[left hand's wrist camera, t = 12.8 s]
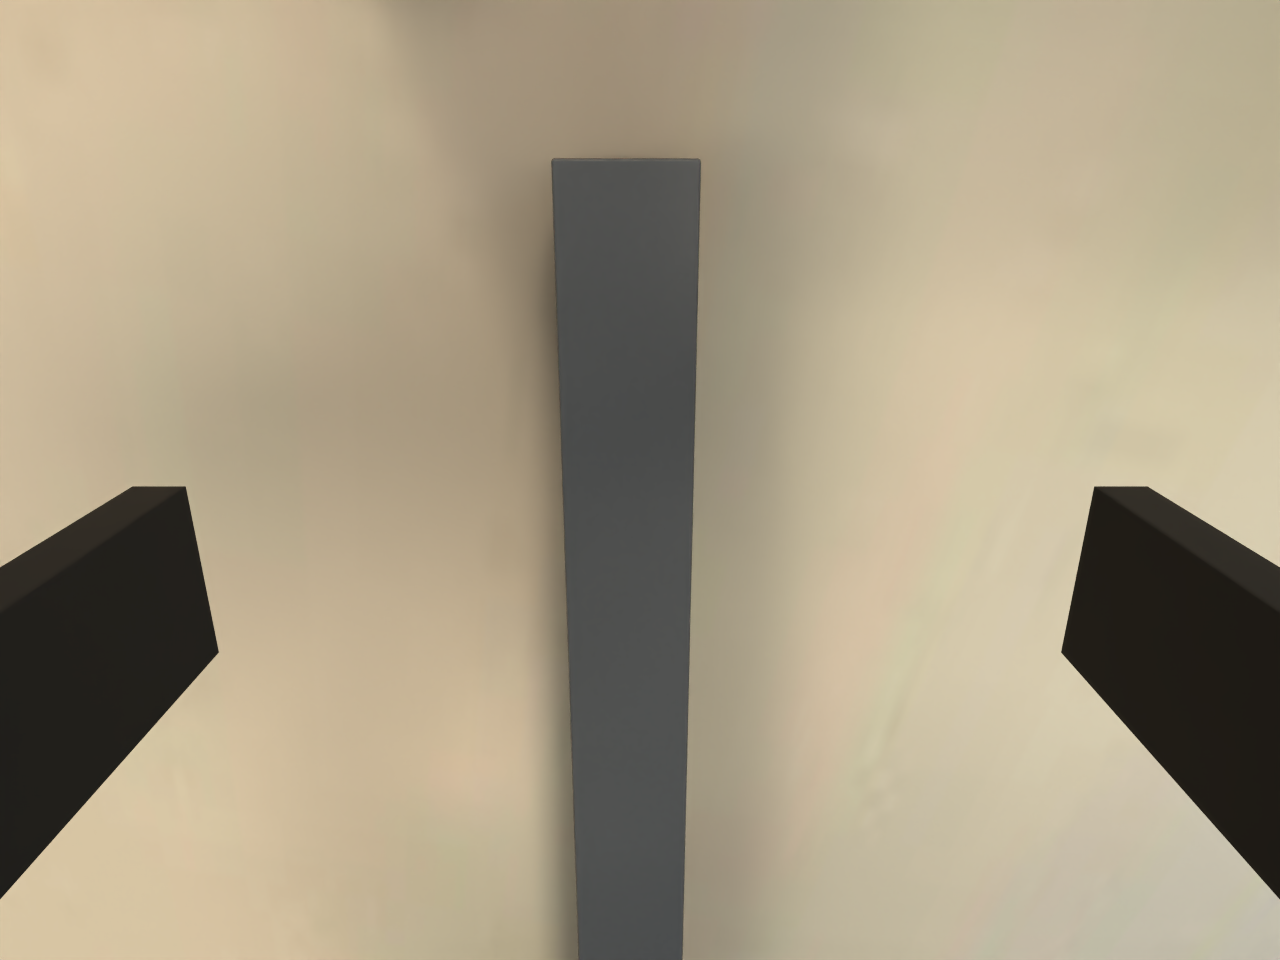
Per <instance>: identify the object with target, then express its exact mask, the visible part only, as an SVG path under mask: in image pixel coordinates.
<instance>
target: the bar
mask: <svg viewBox="0 0 1280 960" xmlns="http://www.w3.org/2000/svg"><path fill="white" fill-rule="evenodd" d="M551 164H552V194H553V223H554V252H555V282H556V311H557V340H558V369H559V399H560V428H561V457H562V487H563V516H564V545H565V575H566V604H567V633H568V662H569V692H570V721H571V750H572V780H573V809H574V838H575V868H576V897H577V926H578V955H579V960H682V954H683V911H684V868H685V825H686V782H687V739H688V696H689V653H690V610H691V567H692V525H693V482H694V439H695V396H696V353H697V310H698V267H699V224H700V181H701V160H700V159H552V161H551Z"/></svg>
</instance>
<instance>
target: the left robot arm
mask: <svg viewBox="0 0 1280 960" xmlns="http://www.w3.org/2000/svg"><path fill="white" fill-rule="evenodd" d="M218 653H219V651H218V646H217V641H216V636H215V631H214V626H213V621H212V616H211V611H210V606H209V601H208V596H207V591H206V586H205V581H204V576H203V571H202V566H201V561H200V556H199V551H198V546H197V541H196V536H195V531H194V526H193V521H192V516H191V511H190V506H189V501H188V496H187V491H186V487H131V488H129V489H128V490H126V491H125V492H123V493H121V494H120V495H118V496H116V497H115V498H113V499H111V500H110V501H108V502H107V503H105V504H103V505H102V506H100V507H98V508H97V509H95V510H93V511H92V512H90V513H89V514H87V515H85V516H84V517H82V518H80V519H79V520H77V521H75V522H74V523H72V524H71V525H69V526H67V527H66V528H64V529H62V530H61V531H59V532H57V533H56V534H54V535H53V536H51V537H49V538H48V539H46V540H44V541H43V542H41V543H39V544H38V545H36V546H35V547H33V548H31V549H30V550H28V551H26V552H25V553H23V554H21V555H20V556H18V557H17V558H15V559H13V560H12V561H10V562H8V563H7V564H5V565H3V566H2V567H0V899H1V898H2V897H3V895H4V894H5V893H6V892H7V891H8V890H9V889H10V888H11V886H12V885H13V884H14V883H15V882H16V881H17V880H18V879H19V877H20V876H21V875H22V874H23V873H24V872H25V871H26V870H27V868H28V867H29V866H30V865H31V864H32V863H33V862H34V860H35V859H36V858H37V857H38V856H39V855H40V854H41V853H42V851H43V850H44V849H45V848H46V847H47V846H48V845H49V844H50V842H51V841H52V840H53V839H54V838H55V837H56V836H57V834H58V833H59V832H60V831H61V830H62V829H63V828H64V827H65V825H66V824H67V823H68V822H69V821H70V820H71V819H72V818H73V816H74V815H75V814H76V813H77V812H78V811H79V810H80V809H81V807H82V806H83V805H84V804H85V803H86V802H87V801H88V799H89V798H90V797H91V796H92V795H93V794H94V793H95V792H96V790H97V789H98V788H99V787H100V786H101V785H102V784H103V783H104V781H105V780H106V779H107V778H108V777H109V776H110V775H111V774H112V772H113V771H114V770H115V769H116V768H117V767H118V766H119V764H120V763H121V762H122V761H123V760H124V759H125V758H126V757H127V755H128V754H129V753H130V752H131V751H132V750H133V749H134V748H135V746H136V745H137V744H138V743H139V742H140V741H141V740H142V738H143V737H144V736H145V735H146V734H147V733H148V732H149V731H150V729H151V728H152V727H153V726H154V725H155V724H156V723H157V722H158V720H159V719H160V718H161V717H162V716H163V715H164V714H165V713H166V711H167V710H168V709H169V708H170V707H171V706H172V705H173V703H174V702H175V701H176V700H177V699H178V698H179V697H180V696H181V694H182V693H183V692H184V691H185V690H186V689H187V688H188V687H189V685H190V684H191V683H192V682H193V681H194V680H195V679H196V677H197V676H198V675H199V674H200V673H201V672H202V671H203V670H204V668H205V667H206V666H207V665H208V664H209V663H210V662H211V661H212V659H213V658H214V657H215V656H216V655H217V654H218ZM1061 653H1062V654H1063V655H1064V656H1065V657H1066V658H1067V659H1068V661H1069V662H1070V663H1071V664H1072V665H1073V666H1074V667H1075V668H1076V670H1077V671H1078V672H1079V673H1080V674H1081V675H1082V676H1083V677H1084V679H1085V680H1086V681H1087V682H1088V683H1089V684H1090V685H1091V687H1092V688H1093V689H1094V690H1095V691H1096V692H1097V693H1098V694H1099V696H1100V697H1101V698H1102V699H1103V700H1104V701H1105V702H1106V703H1107V705H1108V706H1109V707H1110V708H1111V709H1112V710H1113V711H1114V713H1115V714H1116V715H1117V716H1118V717H1119V718H1120V719H1121V720H1122V722H1123V723H1124V724H1125V725H1126V726H1127V727H1128V728H1129V729H1130V731H1131V732H1132V733H1133V734H1134V735H1135V736H1136V737H1137V738H1138V740H1139V741H1140V742H1141V743H1142V744H1143V745H1144V746H1145V748H1146V749H1147V750H1148V751H1149V752H1150V753H1151V754H1152V755H1153V757H1154V758H1155V759H1156V760H1157V761H1158V762H1159V763H1160V764H1161V766H1162V767H1163V768H1164V769H1165V770H1166V771H1167V772H1168V774H1169V775H1170V776H1171V777H1172V778H1173V779H1174V780H1175V781H1176V783H1177V784H1178V785H1179V786H1180V787H1181V788H1182V789H1183V790H1184V792H1185V793H1186V794H1187V795H1188V796H1189V797H1190V798H1191V799H1192V801H1193V802H1194V803H1195V804H1196V805H1197V806H1198V807H1199V809H1200V810H1201V811H1202V812H1203V813H1204V814H1205V815H1206V816H1207V818H1208V819H1209V820H1210V821H1211V822H1212V823H1213V824H1214V825H1215V827H1216V828H1217V829H1218V830H1219V831H1220V832H1221V833H1222V834H1223V836H1224V837H1225V838H1226V839H1227V840H1228V841H1229V842H1230V844H1231V845H1232V846H1233V847H1234V848H1235V849H1236V850H1237V851H1238V853H1239V854H1240V855H1241V856H1242V857H1243V858H1244V859H1245V860H1246V862H1247V863H1248V864H1249V865H1250V866H1251V867H1252V868H1253V870H1254V871H1255V872H1256V873H1257V874H1258V875H1259V876H1260V877H1261V879H1262V880H1263V881H1264V882H1265V883H1266V884H1267V885H1268V886H1269V888H1270V889H1271V890H1272V891H1273V892H1274V893H1275V894H1276V895H1277V897H1278V898H1279V899H1280V567H1278V566H1277V565H1275V564H1273V563H1272V562H1270V561H1268V560H1267V559H1265V558H1263V557H1262V556H1260V555H1259V554H1257V553H1255V552H1254V551H1252V550H1250V549H1249V548H1247V547H1245V546H1244V545H1242V544H1241V543H1239V542H1237V541H1236V540H1234V539H1232V538H1231V537H1229V536H1227V535H1226V534H1224V533H1223V532H1221V531H1219V530H1218V529H1216V528H1214V527H1213V526H1211V525H1209V524H1208V523H1206V522H1205V521H1203V520H1201V519H1200V518H1198V517H1196V516H1195V515H1193V514H1191V513H1190V512H1188V511H1187V510H1185V509H1183V508H1182V507H1180V506H1178V505H1177V504H1175V503H1173V502H1172V501H1170V500H1169V499H1167V498H1165V497H1164V496H1162V495H1160V494H1159V493H1157V492H1155V491H1154V490H1152V489H1151V488H1149V487H1094V491H1093V496H1092V501H1091V506H1090V511H1089V516H1088V521H1087V526H1086V531H1085V536H1084V541H1083V546H1082V551H1081V556H1080V561H1079V566H1078V571H1077V576H1076V581H1075V586H1074V591H1073V596H1072V601H1071V606H1070V611H1069V616H1068V621H1067V626H1066V631H1065V636H1064V641H1063V646H1062V651H1061Z"/></svg>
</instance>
